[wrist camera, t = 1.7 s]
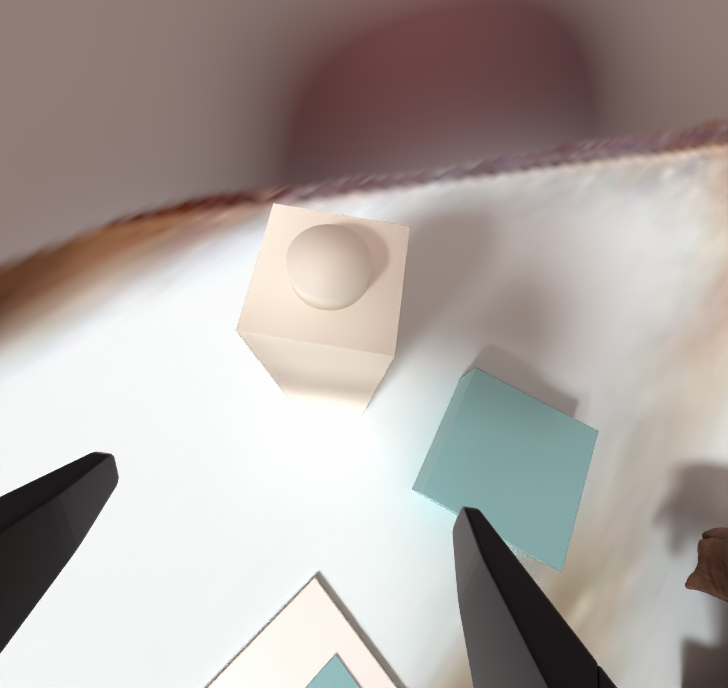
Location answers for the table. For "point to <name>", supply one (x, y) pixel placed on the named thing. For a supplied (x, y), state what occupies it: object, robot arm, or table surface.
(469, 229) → the table surface
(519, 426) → the base brick
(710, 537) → the brown curved loop piece
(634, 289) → the table surface
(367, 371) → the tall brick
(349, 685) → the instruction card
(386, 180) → the table surface
